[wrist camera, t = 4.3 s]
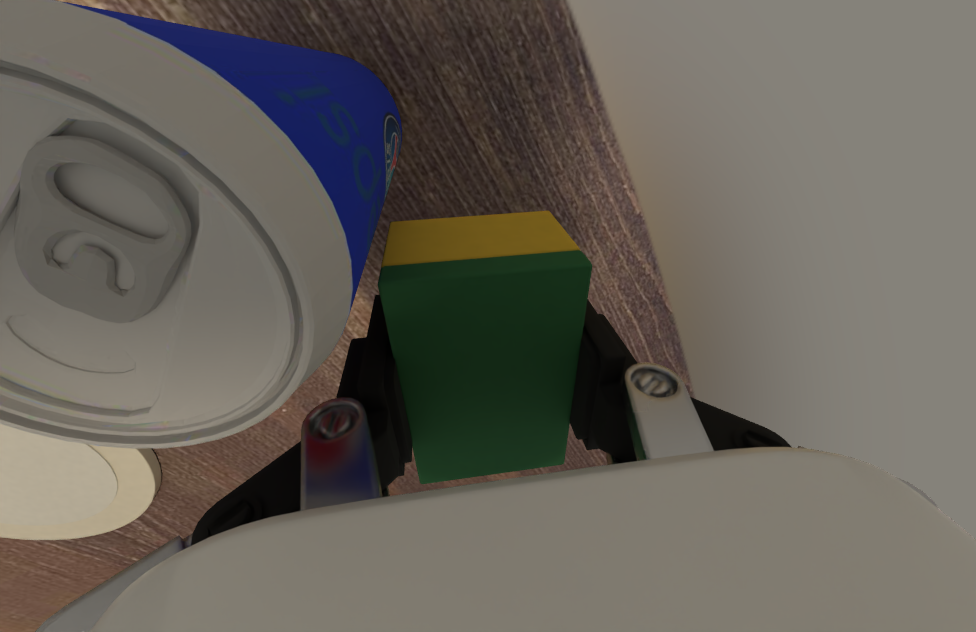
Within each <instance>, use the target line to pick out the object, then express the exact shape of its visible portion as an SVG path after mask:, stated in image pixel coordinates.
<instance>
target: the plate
mask: <svg viewBox="0 0 976 632" xmlns="http://www.w3.org/2000/svg"><path fill="white" fill-rule="evenodd" d="M160 484H161V469H160V464H159V462H158V460H157V457H156V455H155V453H154V452H153V450H152V449H151V448H140V449H131V448H118V447H104V446H95V445H89V444H82V443H76V442H69V441H63V440H59V439H54V438H50V437H46V436H42V435H37V434H33V433H29V432H25V431H22V430H19V429H15V428H12V427H9V426H6V425H3V424H0V537H5V538H13V539H27V540H61V539H73V538H82V537H88V536H93V535H98V534H102V533H106V532H109V531H112V530H115V529H117V528H120V527H122V526H124V525H126V524H128V523H130V522H132V521H133V520H135V519H136V518H138V517H139V516H140V515H142V514H143V513H144V512H145V510H146V509H147V508H148V507H149V505H150V504H151V502H152V501H153V499H154V497H155V496H156V494H157V493H158V491H159V488H160Z"/></svg>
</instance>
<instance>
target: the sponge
mask: <svg viewBox="0 0 976 632" xmlns="http://www.w3.org/2000/svg"><path fill="white" fill-rule="evenodd" d="M591 271H592V264H591V262H590V261H589V260H588V259H587V257H586V256H585V255H584V254H583V252H582V251H580V249H579V247H578V246H577V245H576V243H575V242H574V241H573V240H572V239H571V237H570V236H569V235H568V234H567V232H566V231H565V230H564V229H563V227H562V226H561V225H560V224H559V223H558V221H557V220H556V219H555V218H554V216H553V215H552V214H551V213H550V211H535V212H521V213H507V214H493V215H479V216H465V217H451V218H438V219H424V220H410V221H396V222H390V225H389V230H388V235H387V240H386V245H385V250H384V255H383V260H382V265H381V271H380V276H379V281H378V288H379V293H380V297H381V302H382V307H383V311H384V316H385V321H386V325H387V330H388V335H389V339H390V344H391V349H392V354H393V358H394V359H395V362H396V367H397V372H398V376H399V381H400V386H401V391H402V395H403V400H404V405H405V410H406V414H407V419H408V424H409V429H410V433H411V438H412V447H413V452H414V457H415V461H416V466H417V471H418V476H419V480H420V483H421V484H427V483H434V482H441V481H448V480H455V479H462V478H470V477H477V476H484V475H491V474H498V473H505V472H512V471H519V470H527V469H534V468H541V467H548V466H555V465H562V464H564V459H565V452H566V445H567V438H568V431H569V424H570V414H571V407H572V400H573V393H574V386H575V379H576V372H577V365H578V358H579V351H580V344H581V339H582V333H583V326H584V319H585V312H586V305H587V298H588V291H589V284H590V278H591Z"/></svg>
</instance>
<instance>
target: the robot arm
mask: <svg viewBox="0 0 976 632" xmlns="http://www.w3.org/2000/svg"><path fill="white" fill-rule="evenodd" d="M570 424H571V426H572V429H573V431H574V434H575V436H576V438H577V439H578V440H579V439H583V442H584V444H585V447H586V449H587V450H592V449H601V450H603V451H604V452H606V459H607V465H604V466H597V467H590V468H582V469H575V470H568V471H561V472H554V473H547V474H540V475H533V476H526V477H519V478H512V479H505V480H498V481H491V482H484V483H477V484H470V485H463V486H456V487H450V488H443V489H436V490H429V491H422V492H416V493H409V494H402V495H395V496H390V494H389V488H388V485H389V484H390V483H391V482H392V481H393V480H394V479H395V478H397V477H398V476H403V475H404V467H405V463H407V462H411V460H412V438H411V433H410V429H409V424H408V419H407V414H406V410H405V405H404V400H403V395H402V391H401V386H400V381H399V376H398V372H397V367H396V362H395V359H394V358H393V354H392V349H391V344H390V339H389V335H388V330H387V325H386V321H385V316H384V311H383V307H382V302H381V297H380V295H375V299H374V304H373V309H372V314H371V318H370V323H369V328H368V333H367V337H366V338H357V339H352V340H351V343H350V347H349V351H348V355H347V358H346V362H345V366H344V370H343V374H342V378H341V382H340V386H339V390H338V394H337V398H335V399H331V400H328V401H326V402H323V403H322V404H320V405H318V406H317V407H315V408H314V409H313V410H312V411H311V412H310V413H309V414H308V415H307V416H306V418H305V420H304V421H303V424H302V429H301V441H300V442H299V443H298V444H296V445H295V446H293V447H292V448H291V449H289V450H288V451H287V452H285V453H284V454H283V455H281V456H280V457H278V458H277V459H276V460H274V461H273V462H272V463H270V464H269V465H268V466H266V467H265V468H263V469H262V470H261V471H259V472H258V473H257V474H255V475H254V476H252V477H251V478H250V479H248V480H247V481H246V482H244V483H243V484H242V485H240V486H239V487H237V488H236V489H235V490H233V491H232V492H231V493H229V494H228V495H227V496H225V497H224V498H222V499H221V500H220V501H218V502H217V503H216V504H215V505H214V506H212V507H211V508H210V509H209V510H208V511H207V512H206V513H205V514H204V516H203V517H202V518H201V519H200V521H199V522H198V524H197V526H196V528H195V530H194V532H193V533H192V534H191V535H189V536H188V537H186V538H184V539H182V538H181V537H180V536H177V537H175V538H174V539H172V540H171V541H169V542H167V543H166V544H164V545H163V546H161V547H159V548H158V549H156V550H155V551H153V552H151V553H150V554H148V555H147V556H145V557H143V558H142V559H140V560H139V561H137V562H135V563H134V564H132V565H130V566H129V567H127V568H126V569H124V570H122V571H121V572H119V573H118V574H116V575H114V576H113V577H111V578H110V579H108V580H106V581H105V582H103V583H102V584H100V585H98V586H97V587H95V588H94V589H92V590H90V591H89V592H87V593H86V594H84V595H82V596H81V597H79V598H77V599H76V600H74V601H73V602H71V603H69V604H68V605H66V606H65V607H63V608H62V609H60V610H59V611H58V612H56V613H55V614H54V615H52V616H51V617H50V618H48V619H47V620H46V621H45V622H44V623H43V624H42V625H41V626H40V627H39V628H38V629H37V630H36V631H35V632H976V539H975V538H973V537H972V536H971V535H970V534H968V533H967V532H966V531H965V530H964V529H963V528H961V527H960V526H959V525H957V523H955V522H954V521H953V520H952V519H951V518H949V517H948V516H947V515H946V514H944V513H943V512H942V511H941V510H939V509H938V507H937V506H936V504H935V503H934V502H933V500H931V499H930V498H929V497H928V496H927V495H926V494H925V493H924V492H923V491H921V490H919V489H918V488H916V487H915V486H913V485H912V484H910V483H908V482H906V481H904V480H901V479H899V478H896V477H894V476H893V475H891V474H889V473H888V472H886V471H884V470H882V469H880V468H878V467H876V466H874V465H872V464H869V463H867V462H864V461H861V460H858V459H855V458H851V457H847V456H844V455H840V454H835V453H829V452H824V451H819V450H813V449H807V448H804V447H801V446H798V448H792V447H791V446H790V445H789V444H788V443H787V442H786V441H785V440H784V439H783V438H782V437H780V436H779V435H778V434H776V433H775V432H772V431H771V430H769V429H767V428H765V427H763V426H760V425H758V424H755V423H753V422H750V421H748V420H745V419H743V418H740V417H738V416H736V415H733V414H731V413H728V412H725V411H723V410H721V409H718V408H716V407H713V406H711V405H708V404H706V403H704V402H701V401H699V400H696V399H694V398H691V397H690V396H689V394H688V392H687V390H686V387H685V385H684V383H683V381H682V380H681V378H680V377H679V376H678V375H677V374H676V373H674V372H673V371H672V370H670V369H668V368H666V367H664V366H661V365H658V364H653V363H637V362H636V360H635V359H634V357H633V356H632V355H631V353H630V352H629V350H628V349H627V347H626V346H625V345H624V343H623V342H622V340H621V339H620V337H619V336H618V334H617V333H616V332H615V330H614V329H613V327H612V326H611V324H610V323H609V322H608V320H607V319H606V317H605V316H604V315H602V314H597V312H596V311H595V309H594V308H593V306H592V305H591V303H590V302H589V300H588V299H587V305H586V312H585V319H584V326H583V333H582V339H581V344H580V351H579V358H578V365H577V372H576V379H575V386H574V393H573V400H572V407H571V414H570Z"/></svg>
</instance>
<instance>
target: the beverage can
mask: <svg viewBox="0 0 976 632" xmlns="http://www.w3.org/2000/svg"><path fill="white" fill-rule="evenodd" d="M401 143H402V127H401V120H400V116H399V112H398V109H397V107H396V104H395V102H394V100H393V98H392V96H391V94H390V93H389V91H388V89H387V88H386V87H385V85H384V84H383V83H382V82H381V80H380V79H379V78H378V77H377V76H376V75H375V74H374V73H373V72H372V71H370V70H369V69H368V68H366V67H365V66H364V65H362V64H361V63H359V62H357V61H355V60H353V59H351V58H348V57H345V56H342V55H339V54H334V53H329V52H323V51H318V50H313V49H308V48H302V47H297V46H292V45H287V44H281V43H276V42H271V41H266V40H260V39H255V38H250V37H245V36H239V35H234V34H229V33H224V32H218V31H213V30H208V29H203V28H197V27H192V26H187V25H182V24H176V23H171V22H166V21H161V20H155V19H150V18H145V17H140V16H134V15H129V14H124V13H119V12H113V11H108V10H103V9H98V8H92V7H87V6H82V5H77V4H71V3H66V2H61V1H55V0H0V424H3V425H6V426H9V427H12V428H15V429H19V430H22V431H25V432H29V433H33V434H37V435H42V436H46V437H50V438H54V439H59V440H63V441H69V442H76V443H82V444H89V445H95V446H104V447H118V448H131V449H140V448H170V447H179V446H188V445H195V444H199V443H204V442H208V441H213V440H217V439H221V438H224V437H226V436H229V435H232V434H235V433H238V432H240V431H243V430H245V429H247V428H249V427H251V426H252V425H254V424H256V423H258V422H260V421H262V420H264V419H265V418H266V417H268V416H269V415H270V414H272V413H273V412H274V411H275V410H277V409H278V408H279V407H281V406H282V405H283V404H284V402H285V401H286V400H287V399H288V398H289V397H290V396H291V395H292V393H293V392H294V391H295V390H296V389H297V388H298V387H299V386H300V385H301V384H302V383H303V382H304V381H305V380H306V379H307V378H308V377H309V376H310V375H311V374H312V373H313V372H315V371H316V370H317V368H318V367H319V366H320V365H321V364H322V363H323V362H324V361H325V359H326V358H327V357H328V356H329V355H330V354H331V352H332V351H333V349H334V347H335V346H336V344H337V342H338V341H339V339H340V337H341V335H342V334H343V331H344V328H345V325H346V322H347V319H348V316H349V313H350V310H351V307H352V304H353V301H354V298H355V294H356V291H357V288H358V285H359V281H360V278H361V275H362V272H363V269H364V265H365V262H366V259H367V256H368V253H369V249H370V246H371V243H372V240H373V237H374V233H375V230H376V227H377V224H378V220H379V217H380V214H381V211H382V208H383V204H384V201H385V198H386V195H387V192H388V188H389V185H390V182H391V179H392V176H393V172H394V169H395V166H396V163H397V160H398V156H399V153H400V149H401Z"/></svg>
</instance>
